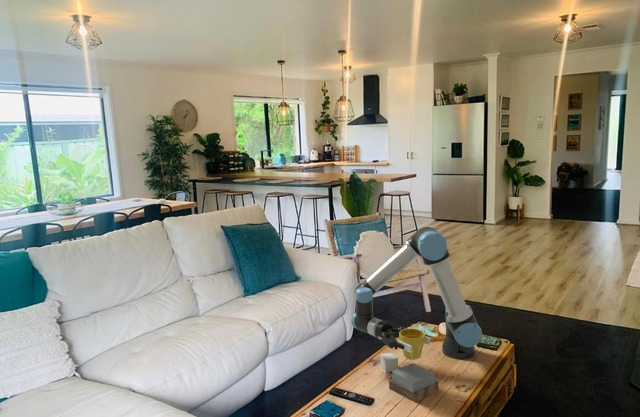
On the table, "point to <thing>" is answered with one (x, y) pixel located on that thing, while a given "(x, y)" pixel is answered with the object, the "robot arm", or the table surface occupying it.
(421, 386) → the gray square slab
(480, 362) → the table surface
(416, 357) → the plant pot
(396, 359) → the matte white cube
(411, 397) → the walnut base slab
